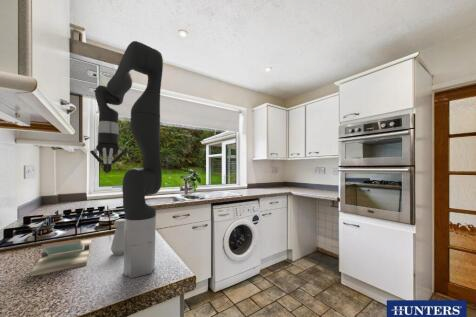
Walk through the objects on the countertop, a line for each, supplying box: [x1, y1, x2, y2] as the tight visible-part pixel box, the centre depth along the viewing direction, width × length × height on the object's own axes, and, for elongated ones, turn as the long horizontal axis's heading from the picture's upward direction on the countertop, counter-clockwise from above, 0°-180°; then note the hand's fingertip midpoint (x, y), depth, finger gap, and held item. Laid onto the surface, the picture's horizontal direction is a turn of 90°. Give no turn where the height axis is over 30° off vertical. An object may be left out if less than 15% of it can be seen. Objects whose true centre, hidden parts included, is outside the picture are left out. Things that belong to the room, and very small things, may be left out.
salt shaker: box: [110, 218, 125, 256], centre depth 80 cm, size 6×6×13 cm
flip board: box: [29, 238, 93, 277], centre depth 77 cm, size 26×14×3 cm, turn 32°
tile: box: [40, 238, 84, 255], centre depth 73 cm, size 13×10×1 cm
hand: (107, 172), depth 88 cm, fingers closed
